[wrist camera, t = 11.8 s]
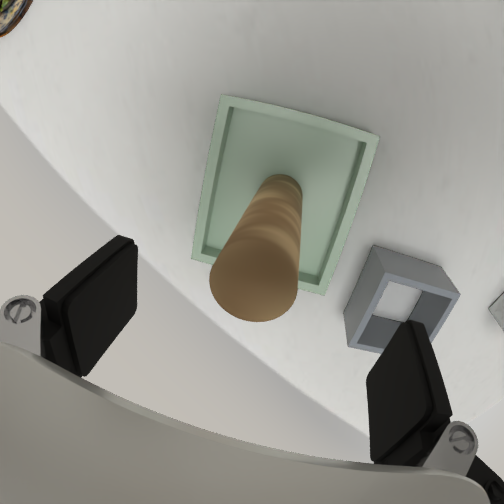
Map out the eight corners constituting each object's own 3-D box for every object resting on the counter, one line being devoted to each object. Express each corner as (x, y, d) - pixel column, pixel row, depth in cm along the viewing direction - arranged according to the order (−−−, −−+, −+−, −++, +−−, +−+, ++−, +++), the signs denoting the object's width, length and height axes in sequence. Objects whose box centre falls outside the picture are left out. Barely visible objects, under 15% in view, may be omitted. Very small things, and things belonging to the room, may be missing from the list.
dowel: (307, 181, 24) (309, 259, 12) (296, 221, 26) (283, 330, 13) (263, 169, 24) (217, 234, 12) (254, 210, 26) (203, 308, 13)
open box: (441, 266, 26) (460, 294, 21) (407, 328, 29) (419, 360, 25) (373, 244, 26) (385, 271, 22) (343, 313, 30) (347, 346, 25)
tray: (373, 134, 22) (379, 136, 20) (323, 281, 29) (324, 295, 26) (228, 95, 23) (220, 94, 21) (199, 247, 29) (190, 258, 27)
